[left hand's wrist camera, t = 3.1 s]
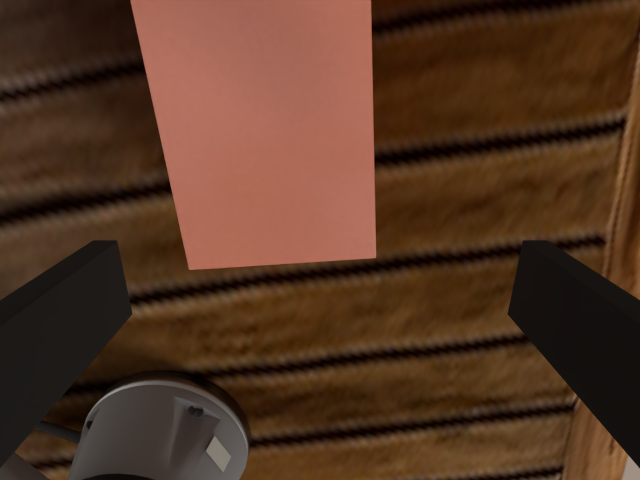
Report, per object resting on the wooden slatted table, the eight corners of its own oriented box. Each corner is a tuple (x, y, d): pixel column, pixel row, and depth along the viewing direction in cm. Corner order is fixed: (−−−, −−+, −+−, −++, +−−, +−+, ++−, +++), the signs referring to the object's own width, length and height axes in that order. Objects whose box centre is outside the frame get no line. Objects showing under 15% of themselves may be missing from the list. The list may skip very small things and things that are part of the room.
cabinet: (171, -125, 22) (69, -273, 13) (347, -141, 21) (364, -305, 13) (228, 217, 29) (188, 270, 20) (359, 208, 29) (376, 258, 20)
